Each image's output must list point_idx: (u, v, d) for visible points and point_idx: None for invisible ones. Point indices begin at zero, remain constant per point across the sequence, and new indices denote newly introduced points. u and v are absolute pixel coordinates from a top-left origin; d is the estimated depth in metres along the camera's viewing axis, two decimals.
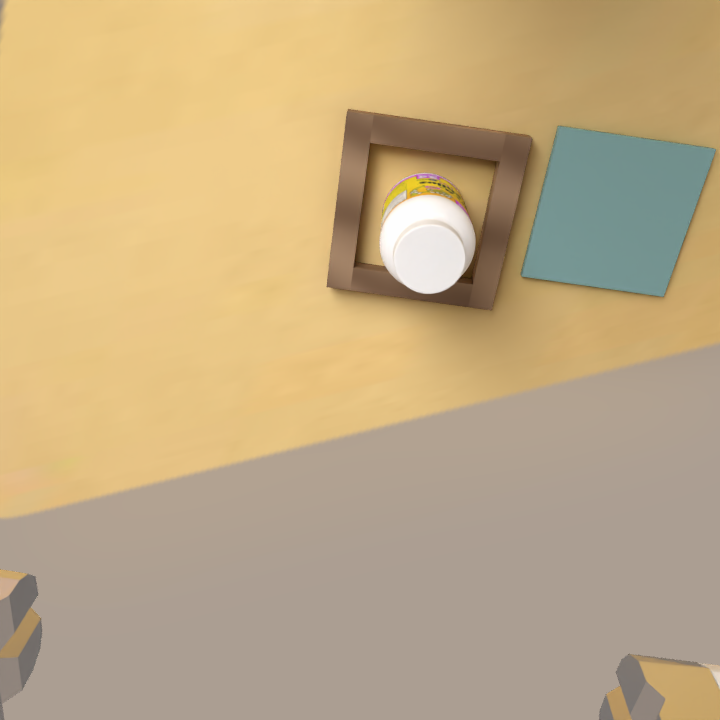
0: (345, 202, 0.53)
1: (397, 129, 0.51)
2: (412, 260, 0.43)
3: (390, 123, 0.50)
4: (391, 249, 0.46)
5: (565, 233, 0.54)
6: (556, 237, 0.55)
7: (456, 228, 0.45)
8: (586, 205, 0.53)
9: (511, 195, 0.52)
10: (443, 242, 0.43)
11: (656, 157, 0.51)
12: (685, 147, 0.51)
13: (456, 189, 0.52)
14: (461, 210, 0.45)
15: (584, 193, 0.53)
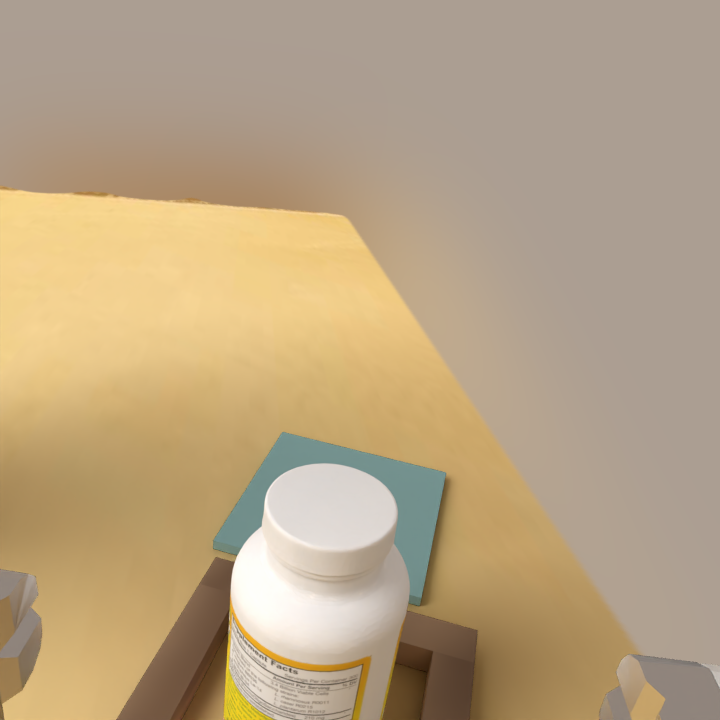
0: None
1: None
2: (329, 523, 0.22)
3: None
4: (317, 608, 0.22)
5: None
6: None
7: None
8: None
9: None
10: (302, 482, 0.24)
11: (278, 468, 0.45)
12: (274, 449, 0.47)
13: None
14: None
15: None
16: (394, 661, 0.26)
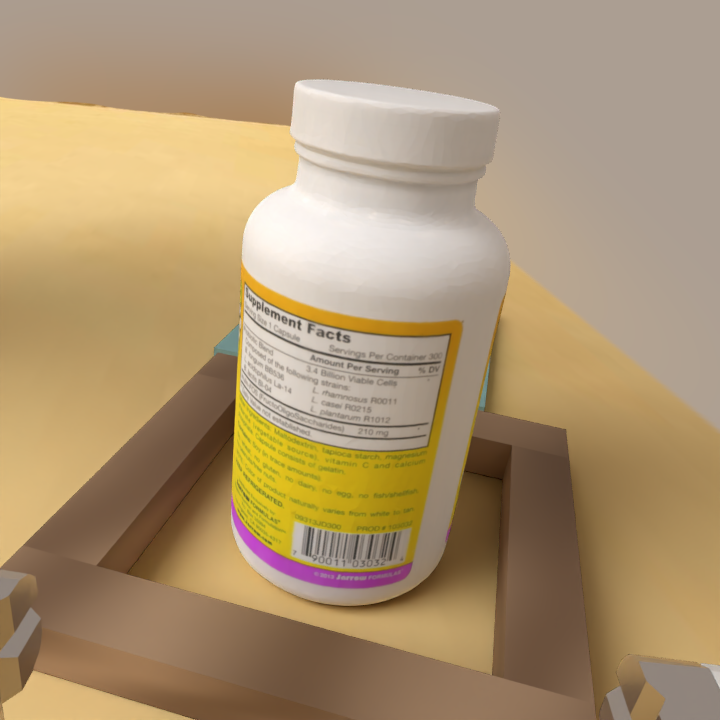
0: (263, 660, 0.15)
1: (94, 506, 0.18)
2: (397, 98, 0.14)
3: (70, 516, 0.18)
4: (381, 230, 0.14)
5: None
6: None
7: None
8: None
9: None
10: (350, 84, 0.16)
11: None
12: None
13: None
14: None
15: None
16: (484, 378, 0.17)
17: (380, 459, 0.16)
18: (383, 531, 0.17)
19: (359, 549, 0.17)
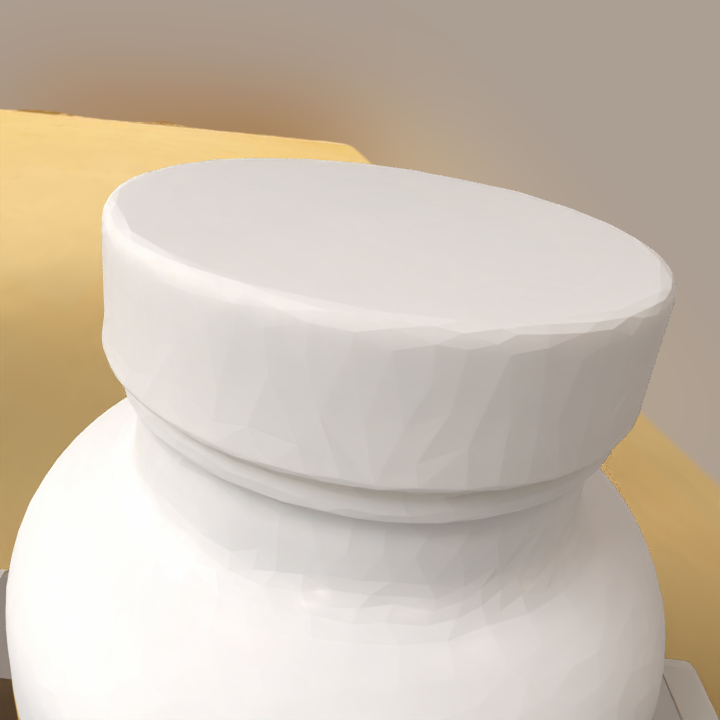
0: None
1: None
2: (391, 253, 0.05)
3: None
4: (336, 655, 0.05)
5: None
6: None
7: None
8: None
9: None
10: (275, 177, 0.07)
11: None
12: None
13: None
14: None
15: None
16: None
17: None
18: None
19: None
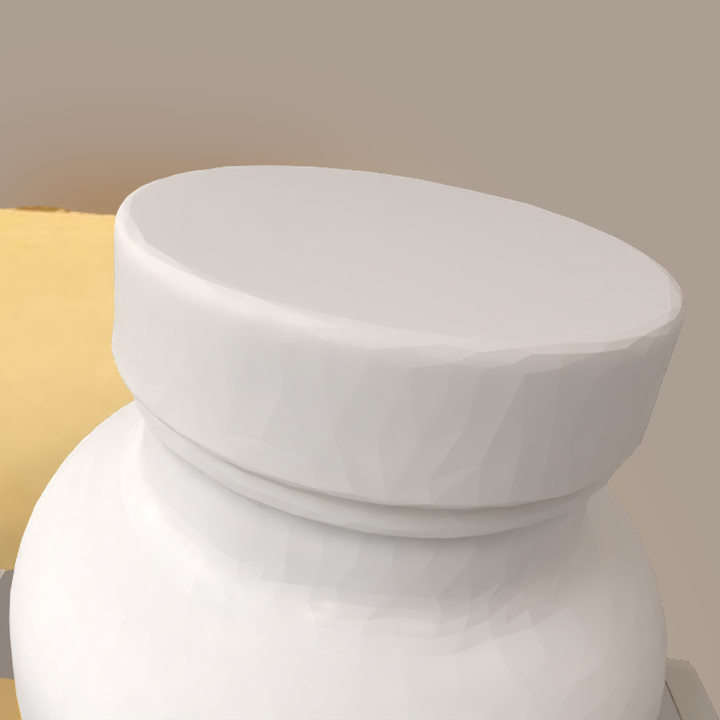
0: None
1: None
2: (403, 268, 0.05)
3: None
4: (342, 666, 0.05)
5: None
6: None
7: None
8: None
9: None
10: (285, 185, 0.07)
11: None
12: None
13: None
14: None
15: None
16: None
17: None
18: None
19: None
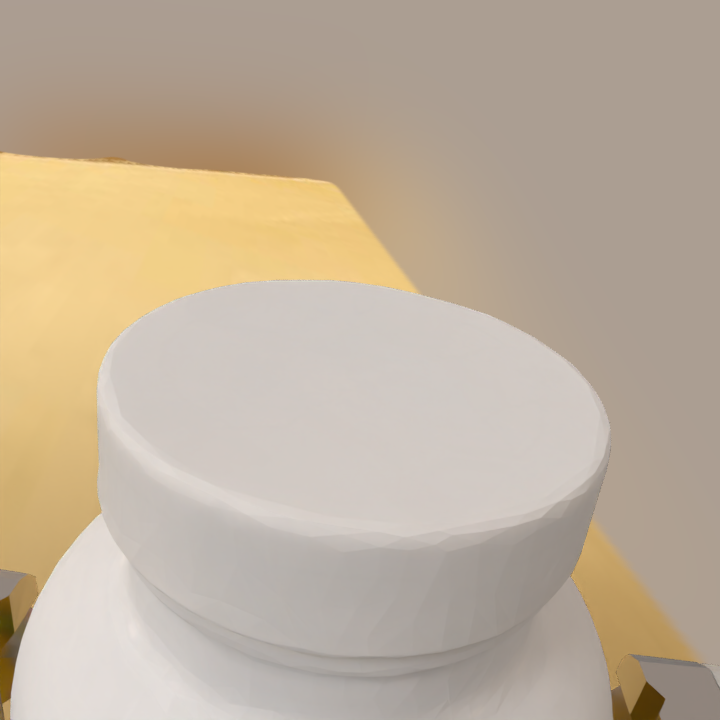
0: None
1: None
2: (352, 428, 0.05)
3: None
4: None
5: None
6: None
7: None
8: None
9: None
10: (257, 313, 0.07)
11: None
12: None
13: None
14: None
15: None
16: None
17: None
18: None
19: None
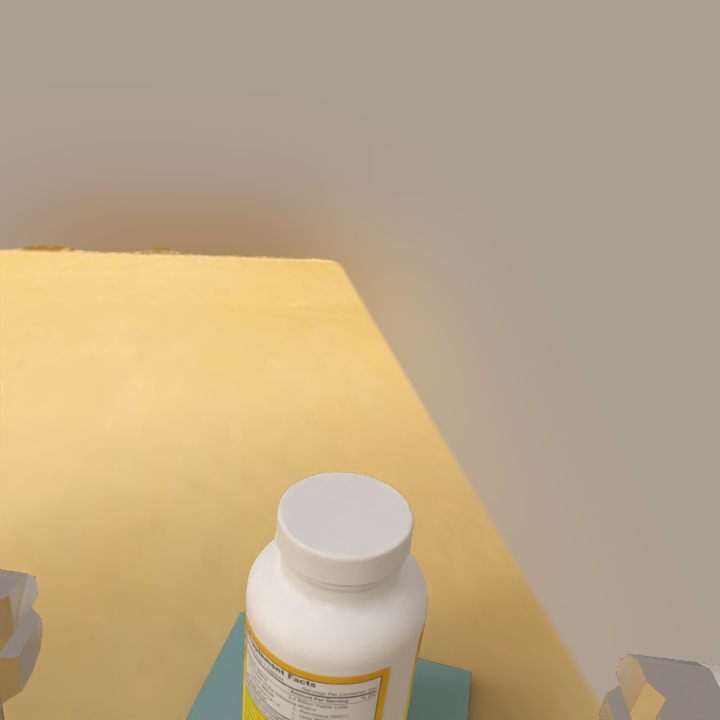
0: None
1: None
2: (343, 531, 0.22)
3: None
4: (333, 618, 0.22)
5: None
6: None
7: None
8: None
9: None
10: (315, 491, 0.24)
11: (231, 685, 0.31)
12: (227, 646, 0.33)
13: None
14: None
15: None
16: (414, 673, 0.25)
17: None
18: None
19: None
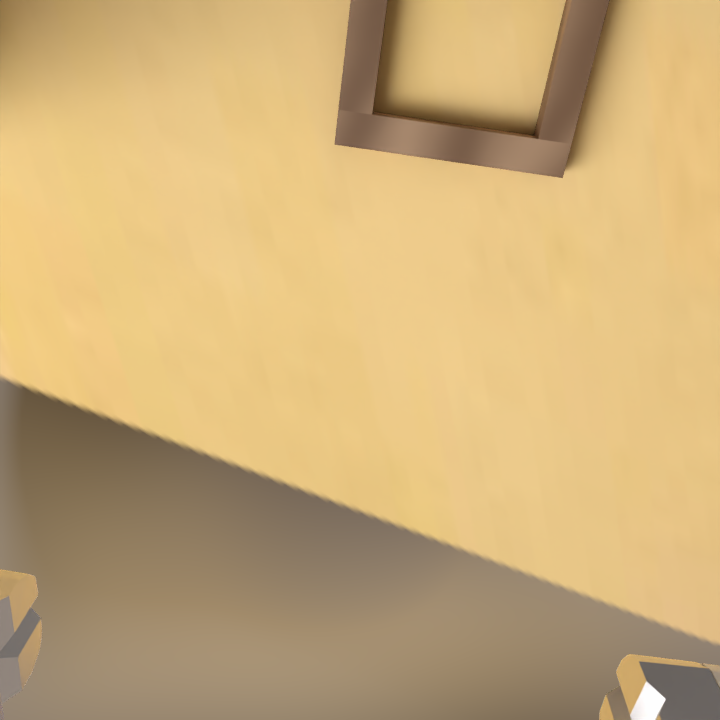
0: (447, 148, 0.41)
1: (355, 76, 0.39)
2: None
3: (348, 86, 0.39)
4: None
5: None
6: None
7: None
8: None
9: None
10: None
11: None
12: None
13: None
14: None
15: None
16: None
17: None
18: None
19: None
